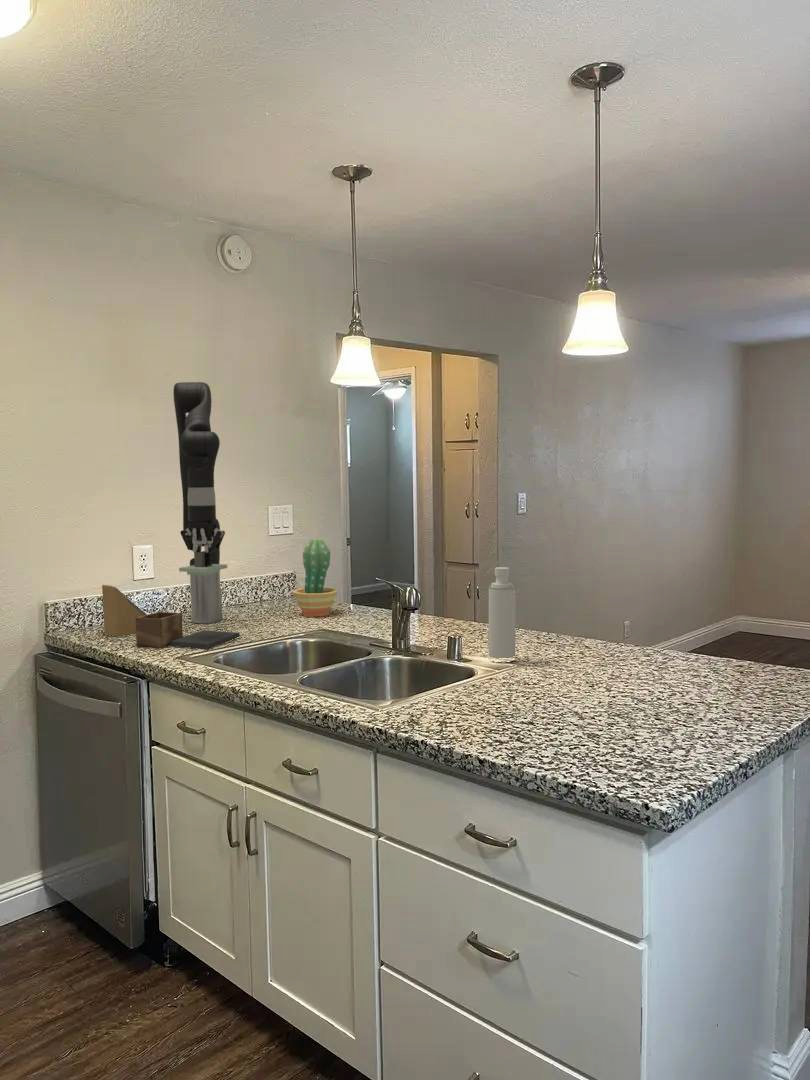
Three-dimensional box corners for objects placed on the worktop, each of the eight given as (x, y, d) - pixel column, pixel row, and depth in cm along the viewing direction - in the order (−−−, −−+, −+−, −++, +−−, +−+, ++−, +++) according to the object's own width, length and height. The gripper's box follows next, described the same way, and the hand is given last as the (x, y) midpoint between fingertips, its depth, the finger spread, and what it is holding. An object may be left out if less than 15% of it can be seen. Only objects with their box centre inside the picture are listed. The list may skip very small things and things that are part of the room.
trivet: (204, 635, 240) (204, 630, 240) (239, 637, 236) (239, 632, 236) (170, 646, 225) (170, 641, 225) (207, 649, 221) (207, 644, 221)
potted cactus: (348, 613, 273) (347, 539, 271) (314, 620, 262) (312, 542, 260) (317, 608, 283) (315, 536, 281) (282, 615, 272) (281, 540, 270)
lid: (201, 570, 235) (201, 549, 234) (227, 571, 232) (226, 550, 231) (179, 575, 225) (178, 553, 225) (205, 576, 222) (205, 554, 222)
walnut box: (159, 639, 235) (158, 611, 234) (182, 641, 232) (181, 613, 231) (136, 646, 225) (135, 617, 224) (160, 648, 222) (159, 619, 222)
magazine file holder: (165, 630, 249) (163, 581, 247) (117, 638, 238) (115, 587, 236) (151, 626, 255) (149, 578, 253) (103, 634, 244) (101, 584, 242)
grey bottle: (506, 664, 201) (507, 563, 199) (483, 660, 205) (483, 562, 203) (520, 659, 207) (520, 561, 204) (497, 655, 211) (497, 559, 208)
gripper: (230, 503, 228) (232, 565, 230) (188, 503, 233) (190, 563, 234) (215, 504, 221) (217, 568, 222) (172, 504, 226) (174, 566, 227)
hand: (203, 565), depth 228 cm, fingers closed on lid, 2 cm apart
